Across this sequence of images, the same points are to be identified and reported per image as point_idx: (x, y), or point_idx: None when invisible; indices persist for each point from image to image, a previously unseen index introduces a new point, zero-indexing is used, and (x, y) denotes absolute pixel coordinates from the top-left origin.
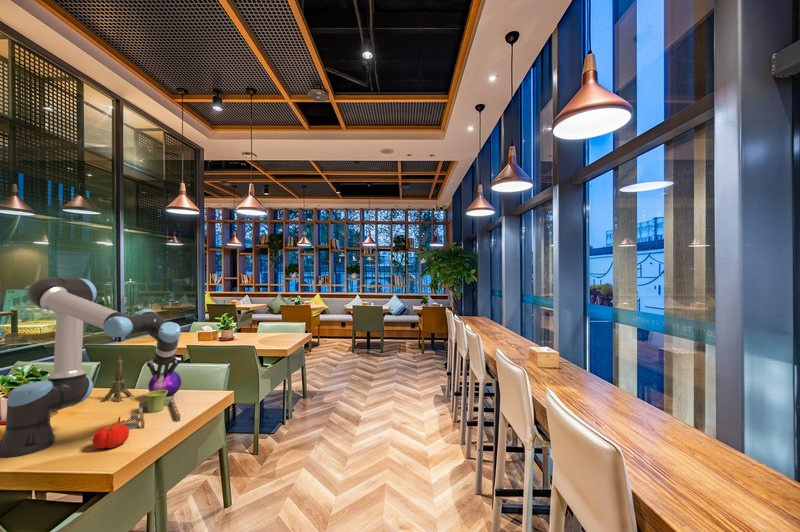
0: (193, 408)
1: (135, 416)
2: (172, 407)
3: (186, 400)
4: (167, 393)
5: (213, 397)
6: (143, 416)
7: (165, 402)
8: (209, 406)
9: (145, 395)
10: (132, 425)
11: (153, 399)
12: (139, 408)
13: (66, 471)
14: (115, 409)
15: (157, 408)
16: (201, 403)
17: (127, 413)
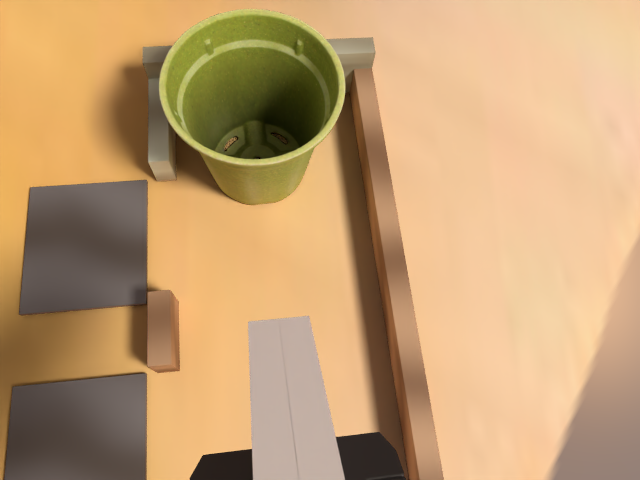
0: (508, 253)
1: (129, 241)
2: (368, 193)
3: (442, 46)
4: None
5: (613, 71)
6: (172, 365)
7: None
8: (618, 267)
9: (162, 107)
10: (101, 465)
11: (232, 167)
12: (149, 147)
13: None
14: (26, 7)
15: (269, 197)
16: (550, 164)
17: (87, 128)
